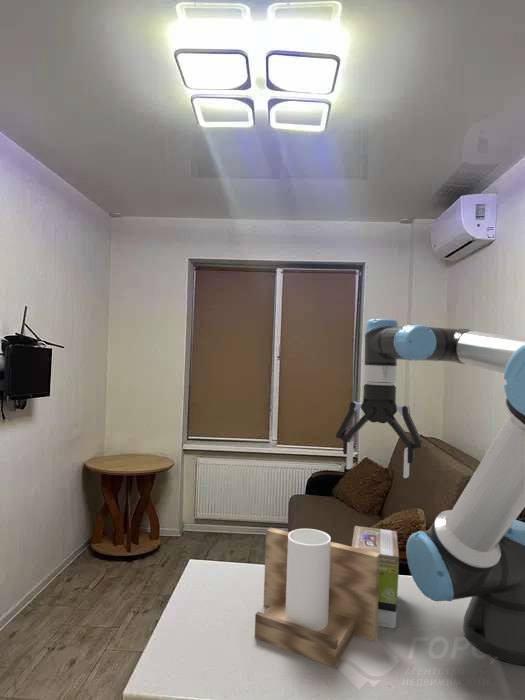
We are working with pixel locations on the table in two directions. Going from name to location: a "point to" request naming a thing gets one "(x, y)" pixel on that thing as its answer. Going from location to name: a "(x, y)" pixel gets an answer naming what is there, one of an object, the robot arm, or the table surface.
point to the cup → (308, 578)
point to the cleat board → (344, 601)
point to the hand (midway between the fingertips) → (377, 472)
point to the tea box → (382, 568)
